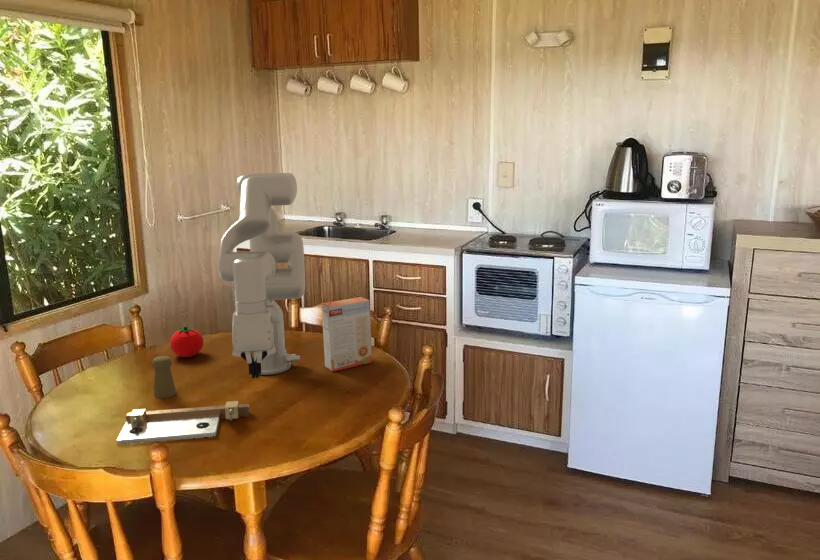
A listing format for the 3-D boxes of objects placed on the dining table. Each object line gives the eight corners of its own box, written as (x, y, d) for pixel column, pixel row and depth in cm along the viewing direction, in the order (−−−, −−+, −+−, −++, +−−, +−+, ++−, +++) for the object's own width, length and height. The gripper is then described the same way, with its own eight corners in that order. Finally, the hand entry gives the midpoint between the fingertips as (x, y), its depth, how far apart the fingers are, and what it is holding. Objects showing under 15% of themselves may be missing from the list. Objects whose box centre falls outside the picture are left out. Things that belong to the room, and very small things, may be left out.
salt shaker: (149, 394, 194) (145, 357, 191) (169, 387, 198) (166, 352, 196) (160, 400, 190) (156, 362, 187) (180, 393, 194) (176, 357, 192)
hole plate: (250, 410, 183) (249, 395, 182) (246, 434, 169) (245, 417, 168) (130, 419, 178) (128, 404, 177) (117, 444, 164) (115, 428, 163)
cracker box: (363, 358, 221) (361, 295, 216) (372, 363, 216) (370, 300, 211) (323, 366, 214) (320, 302, 209) (331, 372, 209) (329, 306, 204)
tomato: (202, 348, 231) (199, 320, 228) (206, 358, 221) (204, 329, 219) (169, 353, 227) (167, 324, 224) (172, 363, 217) (169, 333, 215)
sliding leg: (239, 412, 178) (238, 400, 177) (237, 422, 172) (236, 410, 172) (227, 413, 178) (226, 401, 177) (225, 423, 172) (224, 411, 171)
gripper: (281, 301, 175) (285, 369, 179) (221, 304, 173) (226, 373, 177) (281, 309, 168) (285, 379, 172) (218, 312, 165) (224, 383, 169)
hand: (255, 376), depth 174 cm, fingers closed
